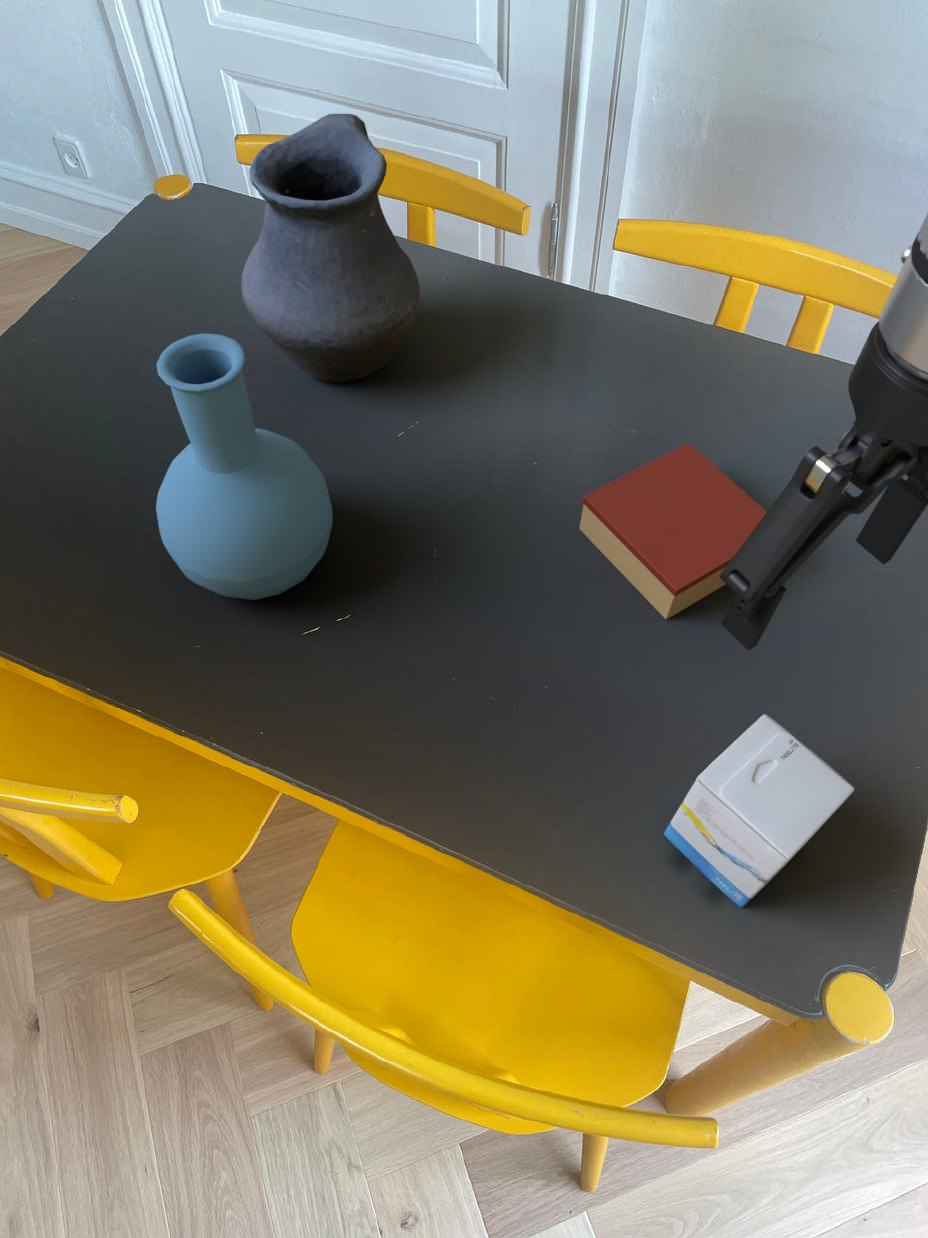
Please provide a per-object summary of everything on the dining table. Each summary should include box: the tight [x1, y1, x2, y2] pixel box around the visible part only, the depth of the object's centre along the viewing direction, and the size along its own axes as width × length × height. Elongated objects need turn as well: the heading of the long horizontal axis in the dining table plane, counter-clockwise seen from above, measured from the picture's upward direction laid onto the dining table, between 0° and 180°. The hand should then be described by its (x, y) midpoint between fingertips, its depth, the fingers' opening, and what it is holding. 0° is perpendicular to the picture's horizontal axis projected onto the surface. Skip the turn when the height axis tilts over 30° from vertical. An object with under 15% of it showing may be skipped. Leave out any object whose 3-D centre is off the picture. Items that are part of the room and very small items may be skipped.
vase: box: [155, 333, 334, 601], centre depth 78 cm, size 16×16×25 cm
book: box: [579, 442, 768, 620], centre depth 88 cm, size 14×14×5 cm
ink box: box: [663, 713, 855, 909], centre depth 67 cm, size 9×8×12 cm
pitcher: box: [240, 113, 420, 383], centre depth 97 cm, size 21×22×25 cm
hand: (807, 591), depth 61 cm, fingers open, 13 cm apart
